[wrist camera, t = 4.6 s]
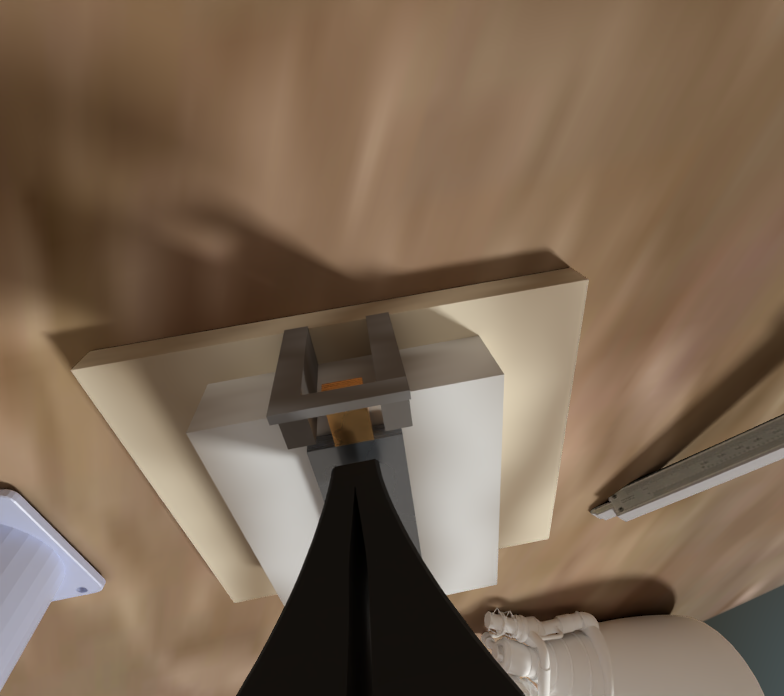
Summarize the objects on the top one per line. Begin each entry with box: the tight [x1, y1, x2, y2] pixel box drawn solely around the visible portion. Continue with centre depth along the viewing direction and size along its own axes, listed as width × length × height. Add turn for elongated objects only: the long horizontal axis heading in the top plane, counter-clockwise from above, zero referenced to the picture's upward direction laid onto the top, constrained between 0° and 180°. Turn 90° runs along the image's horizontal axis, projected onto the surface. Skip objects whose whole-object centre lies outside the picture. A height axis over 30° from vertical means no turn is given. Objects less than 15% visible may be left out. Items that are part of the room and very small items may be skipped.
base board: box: [71, 268, 589, 606], centre depth 16 cm, size 18×16×6 cm
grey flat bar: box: [307, 377, 422, 557], centre depth 15 cm, size 3×13×1 cm, turn 7°
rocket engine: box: [481, 608, 764, 696], centre depth 29 cm, size 12×12×18 cm
